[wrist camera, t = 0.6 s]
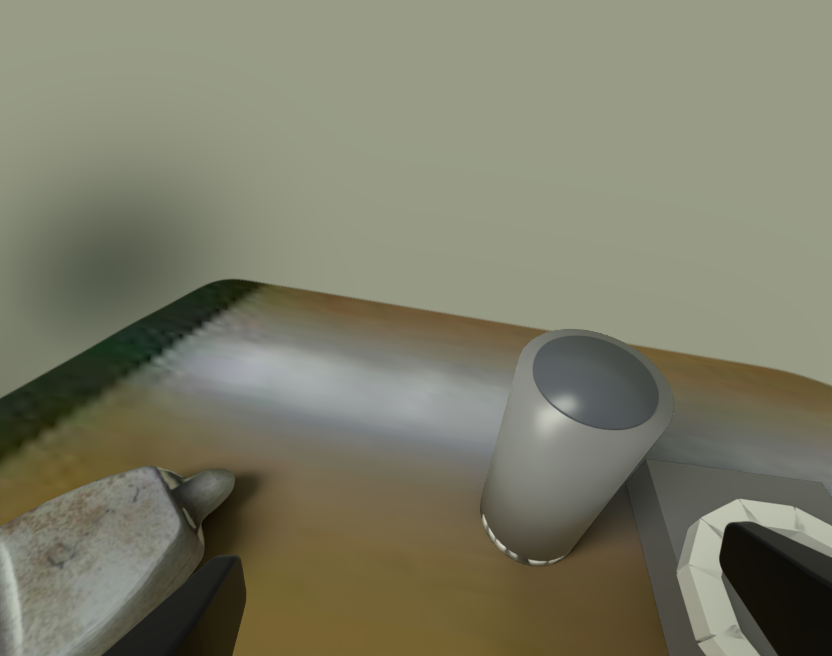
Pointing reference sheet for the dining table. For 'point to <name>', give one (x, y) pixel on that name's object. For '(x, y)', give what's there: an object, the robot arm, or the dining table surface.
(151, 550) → the handheld device
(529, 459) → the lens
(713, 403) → the dining table surface
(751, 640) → the grey rectangular block
